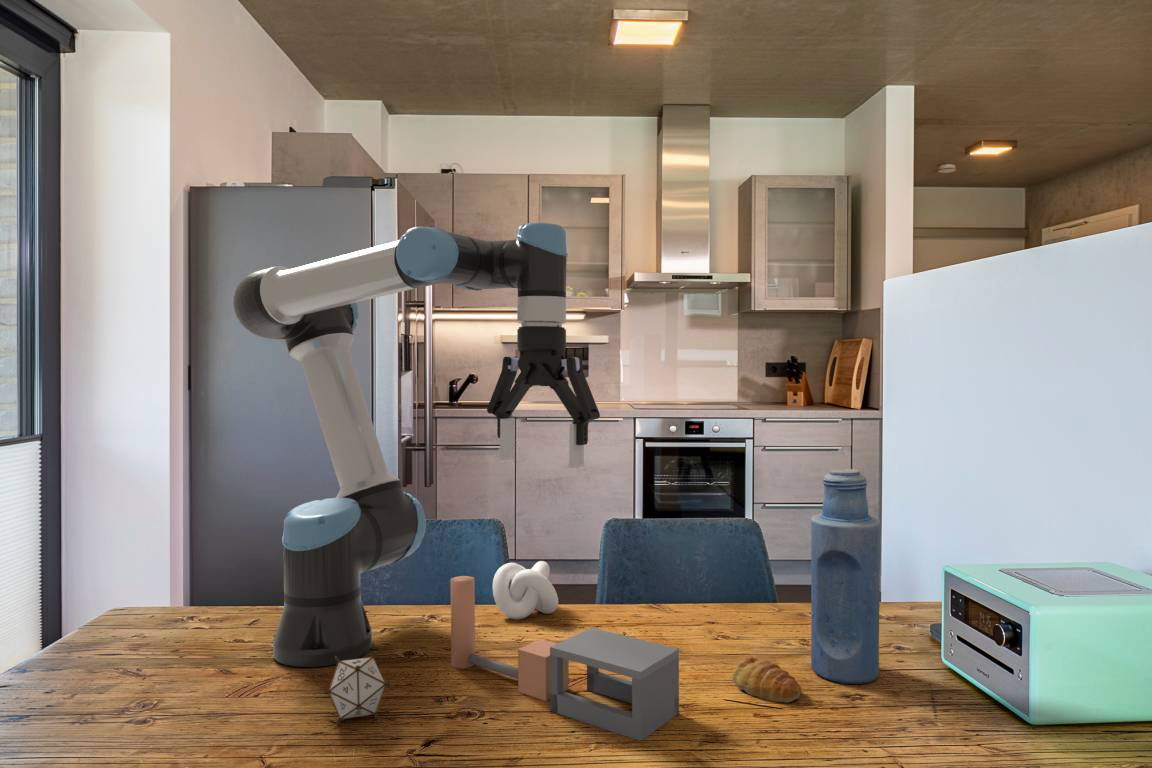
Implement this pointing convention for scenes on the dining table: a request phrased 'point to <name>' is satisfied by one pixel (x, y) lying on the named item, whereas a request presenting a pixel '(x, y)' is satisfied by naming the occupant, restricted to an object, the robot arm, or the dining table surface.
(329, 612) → the robot arm
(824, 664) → the bottle
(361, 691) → the game die
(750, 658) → the pastry
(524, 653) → the block
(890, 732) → the dining table surface
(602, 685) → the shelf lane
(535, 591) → the white knot
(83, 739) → the dining table surface
